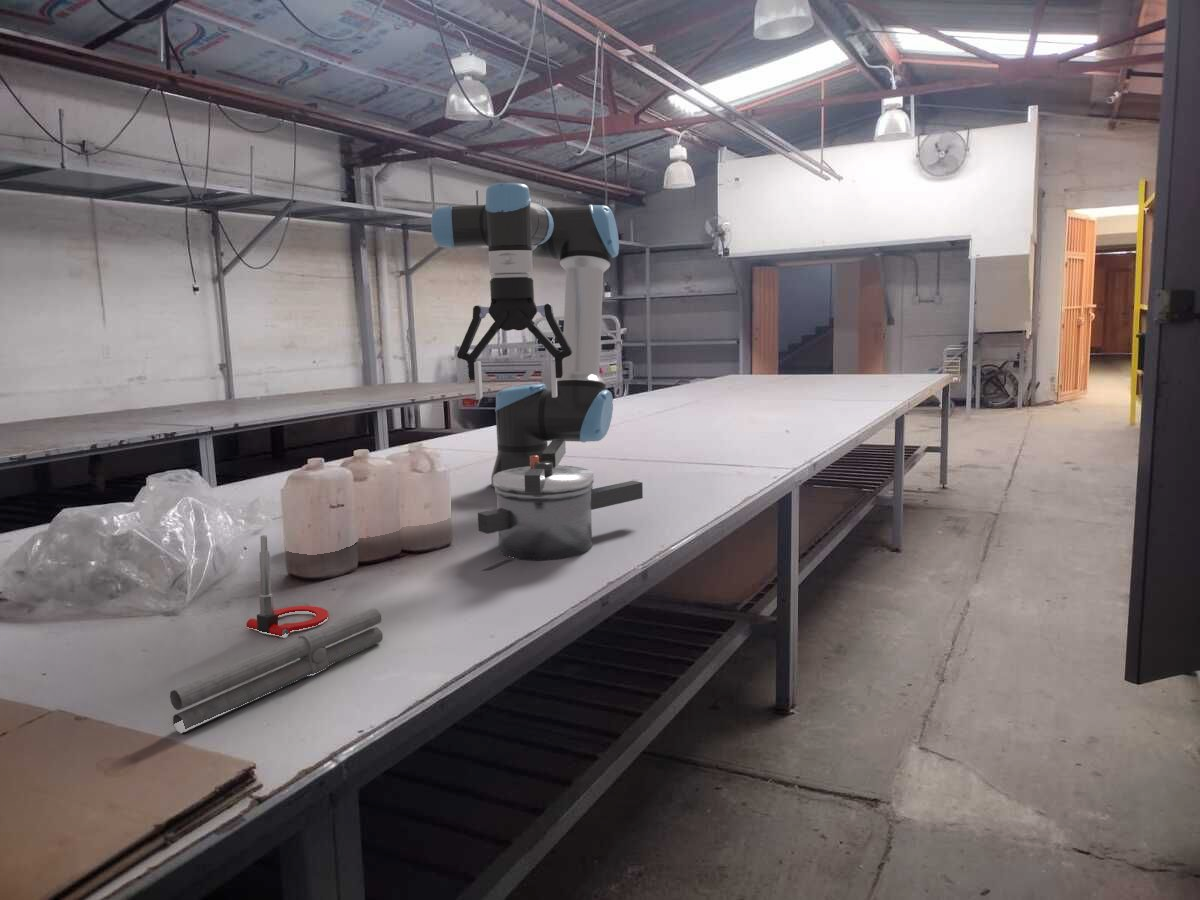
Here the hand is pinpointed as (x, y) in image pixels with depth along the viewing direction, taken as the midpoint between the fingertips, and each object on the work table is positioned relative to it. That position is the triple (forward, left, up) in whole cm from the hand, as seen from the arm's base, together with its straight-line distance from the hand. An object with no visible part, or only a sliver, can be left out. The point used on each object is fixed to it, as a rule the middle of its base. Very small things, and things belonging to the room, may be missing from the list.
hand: (517, 397), depth 145 cm
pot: (+7, +9, -25) cm, 27 cm away
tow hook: (+45, -23, -25) cm, 56 cm away
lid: (+4, +6, -13) cm, 15 cm away
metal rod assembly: (+62, -15, -25) cm, 69 cm away
